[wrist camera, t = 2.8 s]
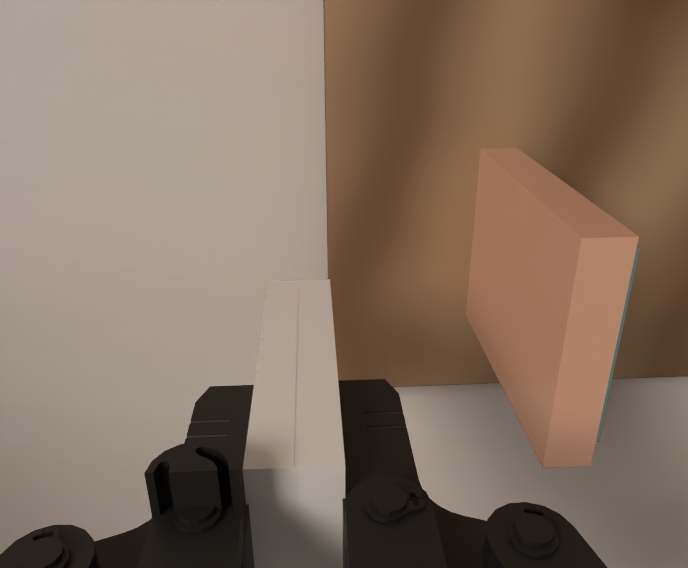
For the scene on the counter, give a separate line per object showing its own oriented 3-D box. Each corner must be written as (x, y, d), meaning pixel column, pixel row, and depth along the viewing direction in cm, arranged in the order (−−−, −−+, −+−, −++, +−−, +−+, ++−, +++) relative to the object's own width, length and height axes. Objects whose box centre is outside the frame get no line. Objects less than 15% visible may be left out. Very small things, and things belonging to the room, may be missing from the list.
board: (329, 367, 25) (331, 389, 23) (313, -629, 14) (314, -698, 12) (741, 353, 26) (765, 373, 24) (1036, -596, 15) (1111, -656, 13)
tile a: (465, 314, 22) (542, 468, 15) (480, 148, 20) (580, 238, 13) (506, 313, 23) (602, 465, 15) (527, 148, 20) (653, 236, 13)
